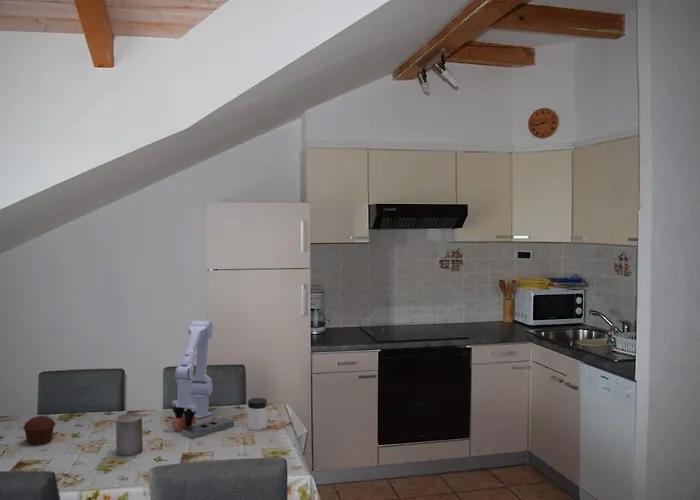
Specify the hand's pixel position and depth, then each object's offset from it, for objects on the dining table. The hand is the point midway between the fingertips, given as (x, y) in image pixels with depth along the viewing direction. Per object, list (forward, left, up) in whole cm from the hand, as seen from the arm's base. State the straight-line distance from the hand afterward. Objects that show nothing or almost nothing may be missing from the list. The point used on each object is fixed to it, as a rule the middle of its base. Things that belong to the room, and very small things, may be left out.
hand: (184, 424), depth 280 cm
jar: (+21, +23, -2) cm, 31 cm away
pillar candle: (+6, -30, -2) cm, 31 cm away
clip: (0, 0, -2) cm, 2 cm away
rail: (+9, +6, -2) cm, 11 cm away
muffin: (-30, -48, -2) cm, 57 cm away
